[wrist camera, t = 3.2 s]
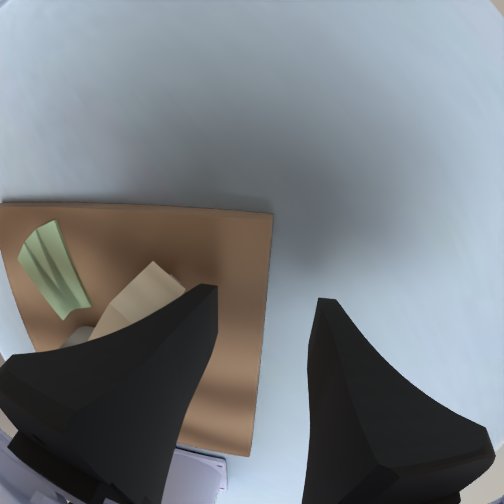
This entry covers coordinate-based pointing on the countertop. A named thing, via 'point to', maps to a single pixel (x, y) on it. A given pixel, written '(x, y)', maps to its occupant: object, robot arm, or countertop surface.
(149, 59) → the countertop surface
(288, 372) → the countertop surface
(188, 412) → the base
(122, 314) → the beige elongated block piece
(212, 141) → the countertop surface
